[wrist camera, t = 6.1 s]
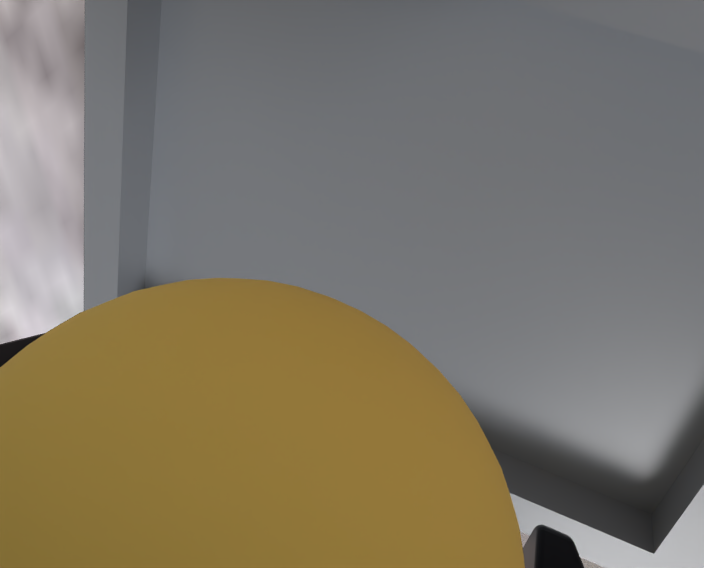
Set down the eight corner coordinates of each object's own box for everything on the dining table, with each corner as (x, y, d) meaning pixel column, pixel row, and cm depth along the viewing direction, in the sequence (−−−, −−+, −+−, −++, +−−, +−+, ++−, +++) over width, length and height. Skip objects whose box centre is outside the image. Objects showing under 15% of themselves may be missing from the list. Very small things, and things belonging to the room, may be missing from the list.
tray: (1018, 54, 11) (1092, 77, 9) (672, 534, 17) (678, 600, 15) (150, -171, 14) (85, -185, 12) (129, 307, 20) (83, 342, 18)
